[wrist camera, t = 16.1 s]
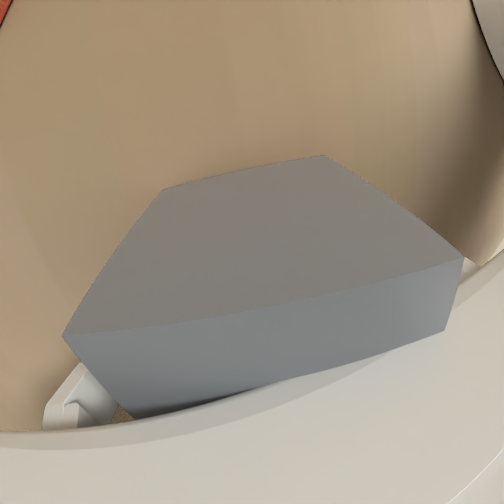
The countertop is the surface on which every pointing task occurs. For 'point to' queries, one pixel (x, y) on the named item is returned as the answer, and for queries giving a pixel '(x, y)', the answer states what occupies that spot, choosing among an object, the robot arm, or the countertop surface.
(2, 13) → the cracker box
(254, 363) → the gray faceted wedge
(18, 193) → the countertop surface
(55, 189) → the countertop surface
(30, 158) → the countertop surface
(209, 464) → the robot arm
